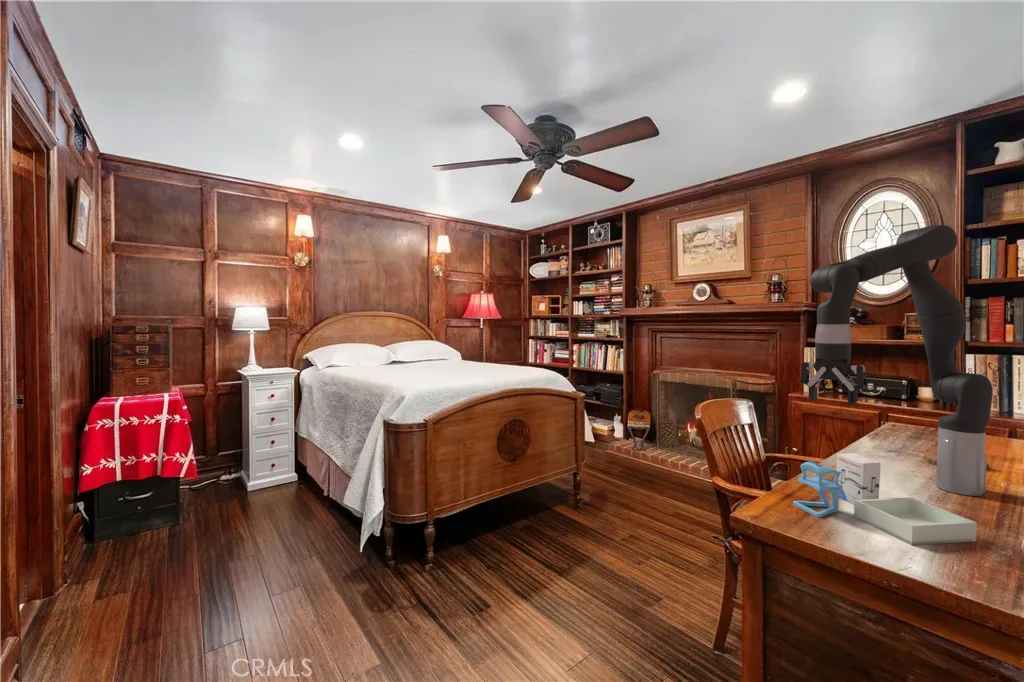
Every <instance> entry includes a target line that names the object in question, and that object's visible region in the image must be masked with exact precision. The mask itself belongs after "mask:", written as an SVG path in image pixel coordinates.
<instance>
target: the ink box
mask: <svg viewBox="0 0 1024 682" xmlns="http://www.w3.org/2000/svg"><path fill="white" fill-rule="evenodd" d="M836 457H837V458H836V469H835V470H836V471H840V472H841V474H840V476H839V479H838V483H839V485H842V486H843V488H842V489H841V490H840V492H839V497H838V498H839V499H841V500H844V501H846V502H848V503H850V504H852V505H854V500H866V499H880V497H879V496H880V483H881V482H880V480H881V466H882V465H881V463H880V461H877V460H874V459H871V458H868V457H866V456H863V455H861V454H857V453H855V452H854V453H852V452H851V453H848V452H847V453H837V456H836Z"/></svg>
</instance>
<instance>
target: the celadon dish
mask: <svg viewBox="0 0 1024 682" xmlns="http://www.w3.org/2000/svg"><path fill="white" fill-rule="evenodd" d="M853 505H854V506H853V509H854V510H853V512H854V513H853V517H854V518H855V519H858V520H859V521H862V522H864V523H866V524H868V525H870V526H872V527H874V528H876V529H879V530H880V531H882V532H883V533H886V534H888V535H890V536H893V537H895V538H896V539H898V540H901V541H902V542H904V543H906V544H908V545H910V546H919V545H920V546H921V545H934V544H939V545H940V544H950V543H951V544H952V543H954V544H955V543H967V542H968V543H969V542H971V543H972V542H976V541H977V530H978V529H977V527H978V526H977V525H978V523H977V521H974V520H971V519H968V518H966V517H963V516H961V515H958V514H956V513H953V512H950V511H948V510H946V509H943V508H940V507H938V506H935V505H933V504H929V503H927V502H925V501H922V500H920V499H917V498H915V497H912V496H911V497H892V498H891V497H890V498H889V497H888V498H879V499H866V500H854V504H853Z"/></svg>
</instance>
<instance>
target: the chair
mask: <svg viewBox="0 0 1024 682" xmlns="http://www.w3.org/2000/svg"><path fill="white" fill-rule="evenodd" d="M800 470H801V472H802V474H801V475H802V476H801V477H798V478H797V479H798V480H797V482H799V483H801V484H804V485H807V486H808V487H812V488H813V489H815V490H816V492H817V494H818V495H819V496H820V499H821V501H806V500H793V502H792V505H793V506H794V507H796V508H799V509H801V510H803V511H804V512H806V513H809V514H810V515H812V516H815V517H817V518H822V517H826V516H828V515H831V514H834V513H836V512H839V498H840V497H839V492H840V490H841V489H842V488H843V486H842V485H839V483H838V479H839V476H840V474H841V472H840V471H836V470H837V469H834V468H831V467H829V466H824V465H823V464H819V463H818V462H816V461H812V460H810V461H806V462H804V463H802V464H800ZM806 471H810V472H811V473H814V474H815V475H816V476H813V477H807V472H806ZM828 474H834V475H835V476H834V478H833V481H830V480H828V479H827V478H824V476H826V475H828ZM824 491H826V492H830V493H831V498H832V505H831V506H830V501H829V500H828V498H827V496H826V494H825V492H824ZM810 507H817V508H818V507H819V508H825V509H823V510H821V511H816V510H814V509H812V508H810Z"/></svg>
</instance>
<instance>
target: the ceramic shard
mask: <svg viewBox="0 0 1024 682" xmlns="http://www.w3.org/2000/svg"><path fill="white" fill-rule="evenodd" d="M923 458H924V459H926V461H927V462H928V464H929V465H931V466H936V465H937V446H931V447H927V448H926V449H925V451H924V452H923ZM989 467H990V465H989V462H987V467H986V470H988V469H989Z"/></svg>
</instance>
